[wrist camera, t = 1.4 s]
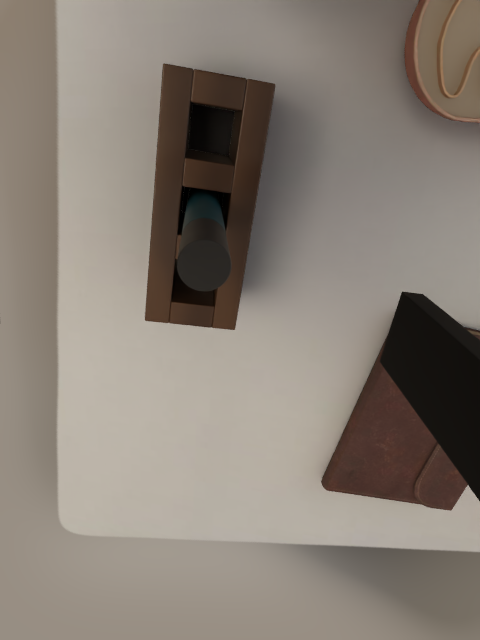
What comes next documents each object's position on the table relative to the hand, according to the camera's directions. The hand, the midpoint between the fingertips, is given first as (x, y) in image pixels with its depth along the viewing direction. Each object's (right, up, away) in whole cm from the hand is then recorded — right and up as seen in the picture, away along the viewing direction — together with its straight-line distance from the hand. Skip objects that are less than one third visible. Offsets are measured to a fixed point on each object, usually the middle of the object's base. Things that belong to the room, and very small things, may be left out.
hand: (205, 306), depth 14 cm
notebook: (+19, -10, +29) cm, 36 cm away
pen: (-2, +9, +19) cm, 21 cm away
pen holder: (-2, +9, +19) cm, 21 cm away
